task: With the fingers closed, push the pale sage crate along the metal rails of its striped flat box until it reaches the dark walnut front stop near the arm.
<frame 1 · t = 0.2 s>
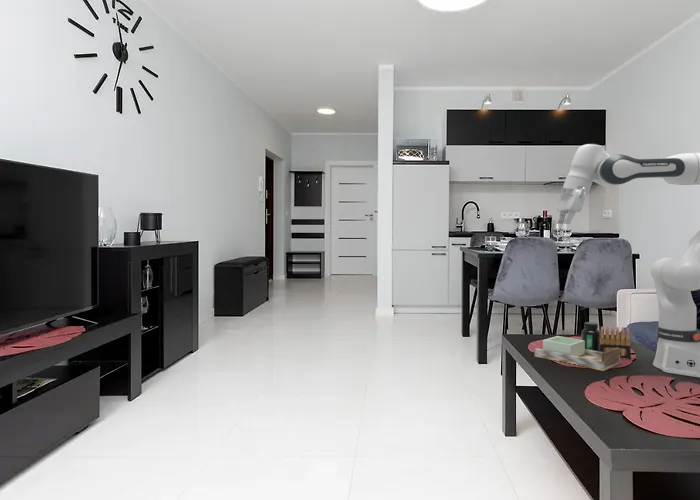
hand: (563, 223, 176), 52 cm above the table, tool tilted 20°, fingers open, 8 cm apart
supplement bottle: (591, 353, 192), on the table
crate: (563, 347, 186), point 4 cm above the table, slide at 0.0 cm
ammunition clip: (614, 358, 185), on the table
striped flat box: (576, 359, 182), on the table
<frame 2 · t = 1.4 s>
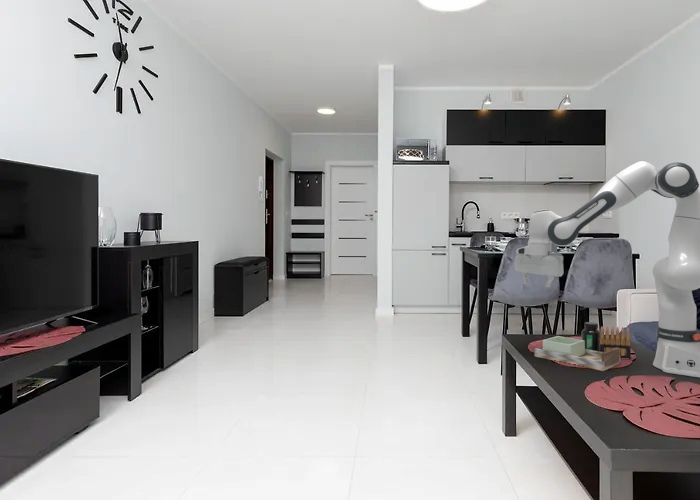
hand: (537, 285, 192), 27 cm above the table, tool pointing down, fingers open, 8 cm apart
nothing on the table moved.
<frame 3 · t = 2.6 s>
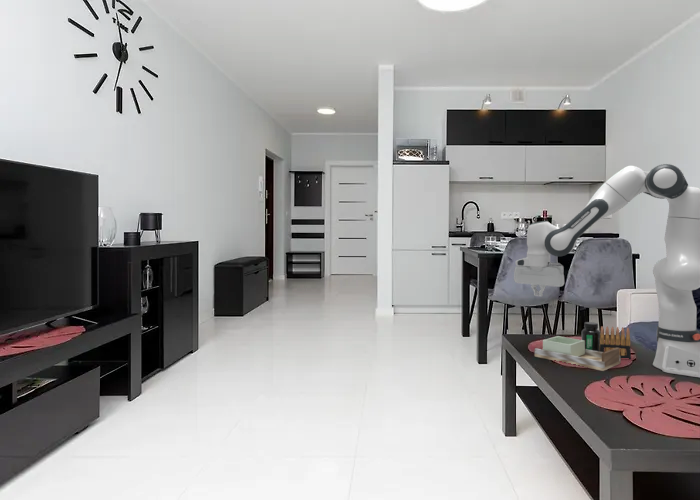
hand: (538, 296, 194), 23 cm above the table, tool pointing down, fingers closed
nothing on the table moved.
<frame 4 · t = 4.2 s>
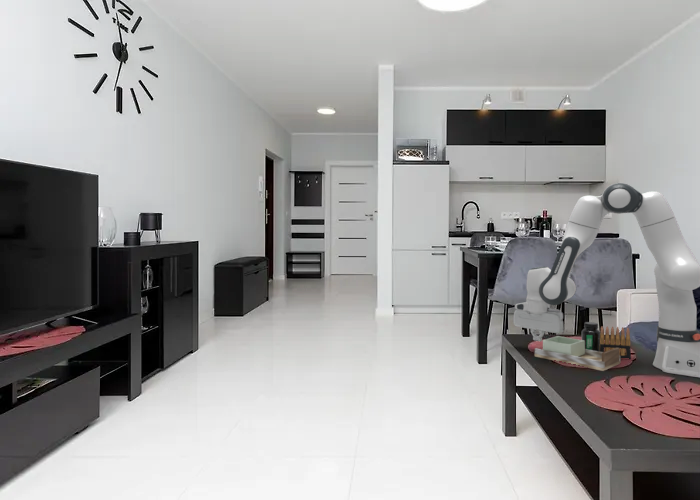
hand: (537, 340, 194), 5 cm above the table, tool pointing down, fingers closed
nothing on the table moved.
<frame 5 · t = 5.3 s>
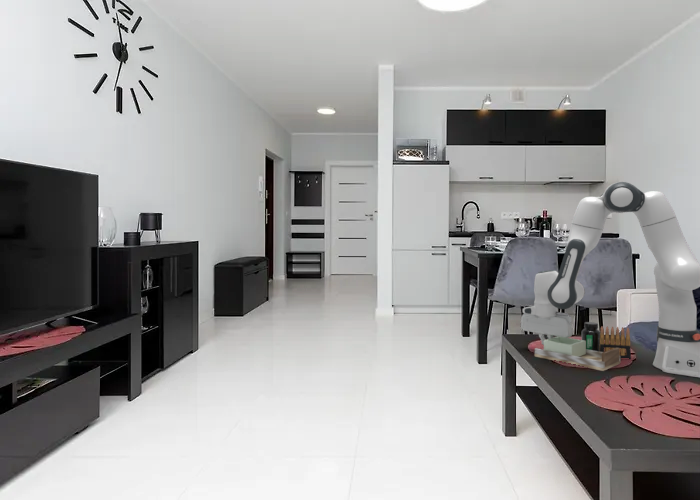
hand: (546, 344, 192), 3 cm above the table, tool pointing down, fingers closed
crate: (564, 347, 186), point 4 cm above the table, slide at 0.4 cm, touching gripper
everything else where it was.
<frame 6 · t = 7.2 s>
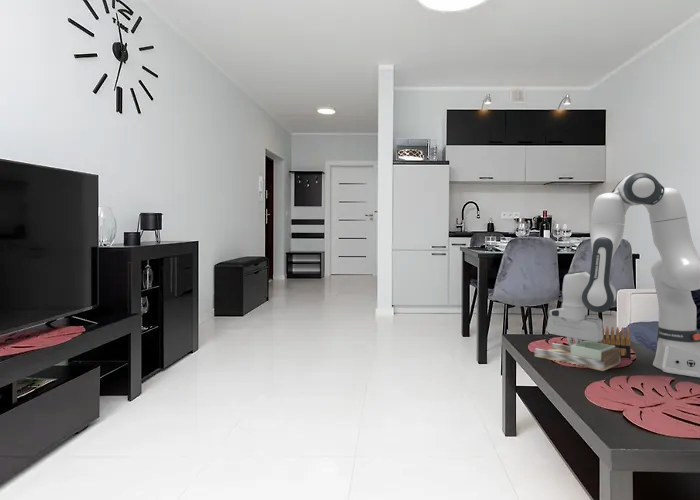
hand: (573, 349, 183), 4 cm above the table, tool pointing down, fingers closed
crate: (592, 352, 177), point 4 cm above the table, slide at 11.1 cm, touching gripper
everything else where it was.
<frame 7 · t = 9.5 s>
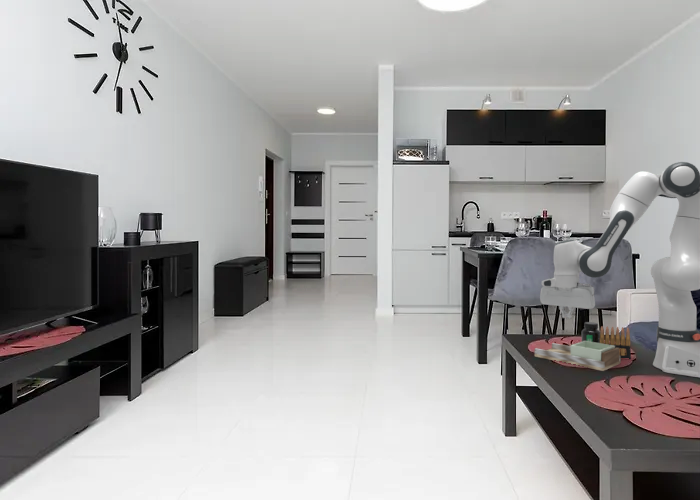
hand: (567, 318, 185), 15 cm above the table, tool pointing down, fingers closed
crate: (592, 352, 177), point 4 cm above the table, slide at 11.0 cm
everything else where it was.
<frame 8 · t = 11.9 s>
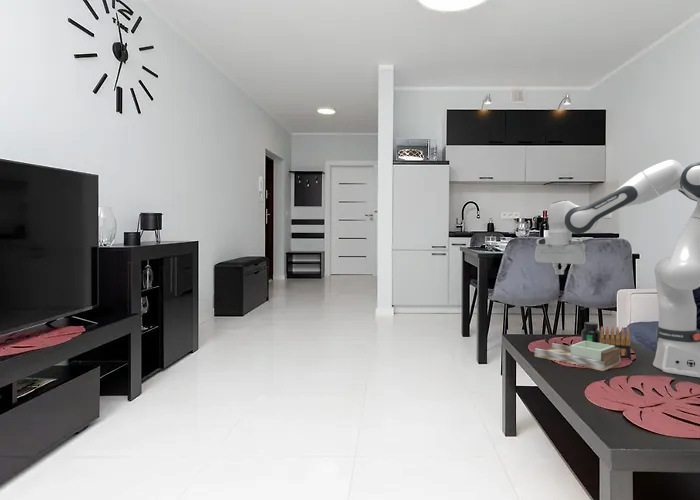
hand: (559, 274, 197), 31 cm above the table, tool pointing down, fingers closed
nothing on the table moved.
at the end: crate slide at 11.0 cm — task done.
